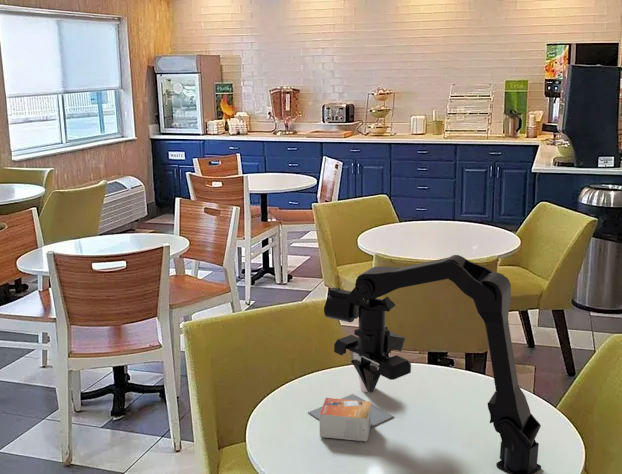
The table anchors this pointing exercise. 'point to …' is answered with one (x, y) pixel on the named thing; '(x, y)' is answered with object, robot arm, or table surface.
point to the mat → (376, 413)
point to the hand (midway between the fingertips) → (370, 391)
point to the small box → (345, 419)
